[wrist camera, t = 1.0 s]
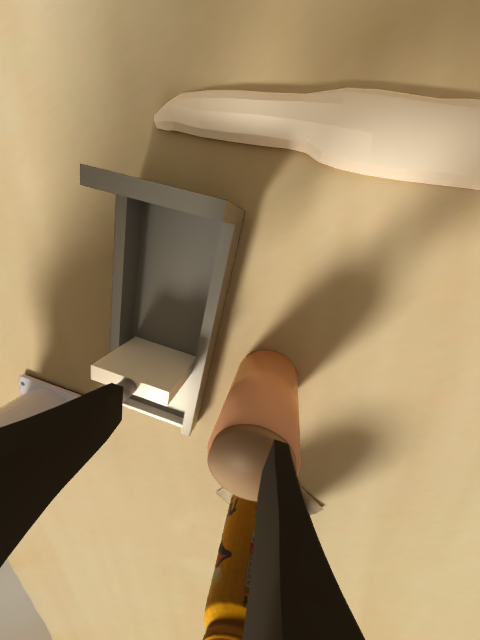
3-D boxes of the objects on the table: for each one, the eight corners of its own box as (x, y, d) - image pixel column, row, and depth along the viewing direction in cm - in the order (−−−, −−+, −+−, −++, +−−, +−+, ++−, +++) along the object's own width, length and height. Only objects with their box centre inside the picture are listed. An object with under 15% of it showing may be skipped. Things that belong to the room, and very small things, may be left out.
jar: (286, 409, 21) (283, 517, 13) (232, 391, 21) (196, 483, 13) (306, 361, 19) (316, 451, 11) (245, 342, 19) (214, 415, 11)
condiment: (215, 491, 26) (159, 679, 15) (272, 458, 23) (253, 665, 12) (262, 532, 27) (241, 742, 16) (323, 505, 24) (351, 745, 12)
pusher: (195, 368, 21) (159, 416, 15) (134, 348, 21) (79, 387, 16) (197, 356, 20) (161, 402, 15) (135, 336, 21) (78, 372, 15)
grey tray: (197, 422, 23) (173, 468, 19) (122, 395, 24) (82, 432, 19) (245, 210, 16) (227, 200, 12) (137, 183, 17) (80, 163, 12)
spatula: (155, 144, 16) (135, 122, 14) (164, 71, 15) (144, 33, 13) (622, 226, 13) (697, 215, 11) (668, 141, 12) (760, 109, 10)
